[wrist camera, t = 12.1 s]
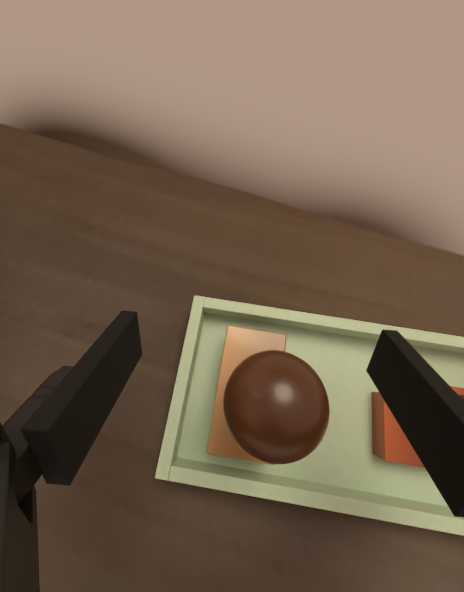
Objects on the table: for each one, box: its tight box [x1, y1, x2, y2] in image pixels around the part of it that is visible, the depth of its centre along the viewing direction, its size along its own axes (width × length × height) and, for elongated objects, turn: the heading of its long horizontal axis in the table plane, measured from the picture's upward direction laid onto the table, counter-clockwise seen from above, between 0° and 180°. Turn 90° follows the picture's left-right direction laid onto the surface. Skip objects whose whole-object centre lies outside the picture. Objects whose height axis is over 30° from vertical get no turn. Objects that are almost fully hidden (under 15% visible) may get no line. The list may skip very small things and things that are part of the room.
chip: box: [372, 392, 425, 468], centre depth 17 cm, size 4×4×2 cm
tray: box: [155, 295, 464, 536], centre depth 17 cm, size 24×12×2 cm, turn 81°
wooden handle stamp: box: [206, 325, 330, 465], centre depth 12 cm, size 4×8×13 cm, turn 171°
